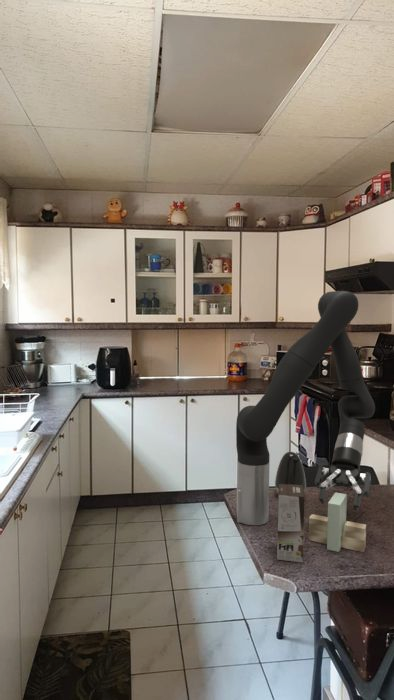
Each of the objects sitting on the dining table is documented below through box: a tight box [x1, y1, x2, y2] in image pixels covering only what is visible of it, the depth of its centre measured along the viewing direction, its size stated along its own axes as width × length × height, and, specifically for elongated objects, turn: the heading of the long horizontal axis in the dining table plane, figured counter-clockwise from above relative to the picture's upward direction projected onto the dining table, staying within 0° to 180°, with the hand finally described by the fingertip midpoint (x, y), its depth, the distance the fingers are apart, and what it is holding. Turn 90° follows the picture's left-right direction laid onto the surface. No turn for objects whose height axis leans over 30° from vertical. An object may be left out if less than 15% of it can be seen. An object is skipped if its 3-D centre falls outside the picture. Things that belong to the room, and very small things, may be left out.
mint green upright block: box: [326, 491, 348, 553], centre depth 121 cm, size 9×3×12 cm, turn 152°
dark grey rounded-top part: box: [274, 451, 307, 493], centre depth 155 cm, size 10×10×15 cm
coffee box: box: [276, 484, 306, 563], centre depth 116 cm, size 9×6×16 cm
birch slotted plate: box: [308, 513, 367, 553], centre depth 121 cm, size 14×3×6 cm, turn 62°
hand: (338, 505), depth 123 cm, fingers open, 8 cm apart
